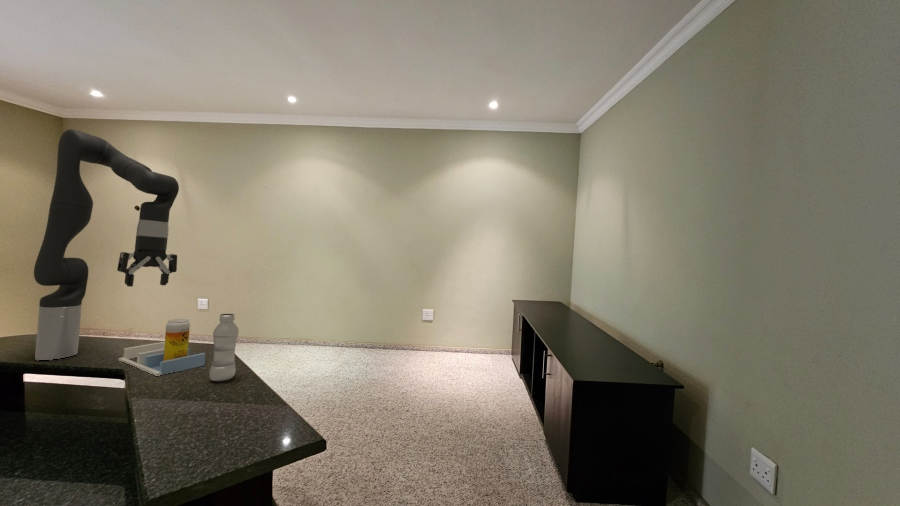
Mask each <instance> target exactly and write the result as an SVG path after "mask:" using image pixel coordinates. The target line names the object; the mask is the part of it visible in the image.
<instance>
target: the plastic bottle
mask: <svg viewBox="0 0 900 506" xmlns="http://www.w3.org/2000/svg"><path fill="white" fill-rule="evenodd" d="M218 320H219V324H217V325H216V327H215V328H214V329H213V333H212V336H213V337H212V339H213V357H212V363H211V365H210V368H209V372H208V373H209V374H208V375H209V379H210V380H211V381H212V382H224V381H229V380H231V379H233V377H234V376H235V373H236V370H237V369H236V362H235V360H236V359H235V355H236V354H235V353H236V346H237V341H238V336H239V331H240V330H239V327H238V326H237V324H236V323H235V322H234V321H235V313H229V312H228V313H221V314H220V315H219V319H218Z"/></svg>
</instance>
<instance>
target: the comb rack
mask: <svg viewBox="0 0 900 506" xmlns="http://www.w3.org/2000/svg"><path fill="white" fill-rule="evenodd" d="M164 346H165V341H161V342H154V343H148V344H142V345H138V346H137V345H136V346H130V347H124V348H123V356H122V357H119V358H118V360H119V361H122V362H125V363H127V364H130V365H133V366H135V367H137V368H139V369H141V370H143V371H146V372H148V373H150V374H149V375H151V374H153V375H155V376H159V377H161V376H160V375H163V376H165V375H164V374H167V375H169V374H168V373H171V374H174V373H173V372H175V373H178V371H179V372H182V371H187V370H190V369H195V368H199V367H203V366H204V367H205V364H206V353H205V352H202V353H197V354H191V355H190V353H191V348H189V347H188V356H186V357H181V358H177V359H172V360H167V361H163V359H164ZM134 357H137V359H136V361H135V360H134V361H133V360H129V359H130V358H134ZM119 361H118V362H119ZM122 362H121V363H122ZM144 364H145V365H144ZM141 370H140V371H141ZM143 371H142V372H143ZM146 372H145V373H146ZM148 373H147V374H148ZM153 375H152V376H153ZM155 376H154V377H155Z"/></svg>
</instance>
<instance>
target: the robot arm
mask: <svg viewBox="0 0 900 506" xmlns="http://www.w3.org/2000/svg"><path fill="white" fill-rule="evenodd" d="M81 161H82V162H84V163H85V162H86V163H88V164H95V165H101V166H104V167H109V168H110V169H111V171H112V172H113V173H114V174H115V175H116V176H118V177H119V178H121V179H123V180H125V181H126V182H129V183H130V184H131V185H133V186H134V188H135V189H136V190H138V191H139V192H142V193H145V194H148V195H149V194H150V195H154V196H156V198H155V199H154V200H153V201H144V202H141V205H140V209H139V218H138V223H137V227H136V233H135V235H136V236H135V245H134V251H133V253H132V252H126V251H121V252H119V259H118V263H117V268H116V269H117V271H118V272H120V273H123V274H125V275H124V276H125V277H124V284H125V285H126V286H127V287H131V288H132V287H134V279H135V273H136V271H138V270H140V269H142V268H149V267H150V268H151V267H152V268H158V269H159V270H160V272H161V274H160V282H159V284H160V285H161V286H167V284H168V283H169V279H170V278H169V277H170V275H171V274H172V273H176V272H177V268H178V255H177V254H176V253H175V254H174V253H170V254H167V247H168V239H169V231H170V230H169V220H170V219H169V218H170V212H171V208H172V207H173V205H174V203H175V200H176V198H177V196H178V193H179V190H180V186H179V183H178V181H177V179H176V178H175V177H173V176H170V175H166V174H163V173H159V172H156V171H152V169H151V168H150V167H148V166H147V165H145V164H143V163H141V162H139V161H138V160H136V159H133V158H131V157H129V156H127V155H125V154H124V153H122V151H120V150H119V149H117V148H116V147H115V146H113V144H111V143H110V142H108V141H107V140H105V139H104V138H102V137H100V136H99V137H98V136H95V135H93V134H89V133H86V132H83V131H80V130H78V129H77V130H76V129H71V128H70V129H67V130H65V131H63V132H62V134H61V136H60V137H59V140H58V146H57V161H56V173H55V174H56V176H55V181H54V186H53V191H52V196H51V199H50V204H49V210H48V217H47V222H46V226H45V227H46V228H45V231H44V236H43V238H42V239H43V240H42V242H41V246H40V249H39V252H38V255H37V257H36V260H35V263H34V268H33V277H34V280H35V282H36V283H37V284H38V285H39V286H44V287H46V286H47V287H52V286H59V287H58V289H56V290H55V291H53V292H52V293H49V294H47V295H45V296H42V297H41V298H40V299H39V306H38V317H37V331H36V342H35V353H34V360H36V361H39V360H49V361H54V360H53V359H59V360H61V359H60V358H65V357H69V356H73V355H76V354H77V353H78V351H79V341H80V340H79V339H80V328H81V317H82V304H83V303H82V302H83V299H84V298H85V296H86V291H87V285H88V280H89V266H88V264H87V262H86V261H85V260H84V259H82V258H80V257H65V253H66V250H67V247H68V245H70V243H71V241H72V240H73V239H74V238H75V237H76V236H77V235H79V234H80V233H81V232H82V231H83V230H85V228H86V227H87V225H88V224H89V223H90V221H91V218H92V212H93V208H94V200H93V198H92V195H91V194H90V192H89V190H88V188H87V187H86V185H85V183H84V181H83V178H82V176H81ZM132 258H133V260H134V261H133V262H132V263H130V265H129V267H128V263H129V260H131V259H132ZM165 260H167V261H168V266H167V265H166V263H165ZM77 355H78V354H77ZM77 355H76V356H77ZM73 357H74V356H73ZM69 358H70V357H69ZM65 359H66V358H65Z"/></svg>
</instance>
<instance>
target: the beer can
mask: <svg viewBox="0 0 900 506" xmlns="http://www.w3.org/2000/svg"><path fill="white" fill-rule="evenodd" d="M190 328H191V323H190V320H189V319H187V318H175V319H170V320H167V323H166V325H165V335H164V336H165V337H164V342H165V346H164V359H163V361H167V360H172V359H177V358H181V357H186V356H188V348H189V339H190Z"/></svg>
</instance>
